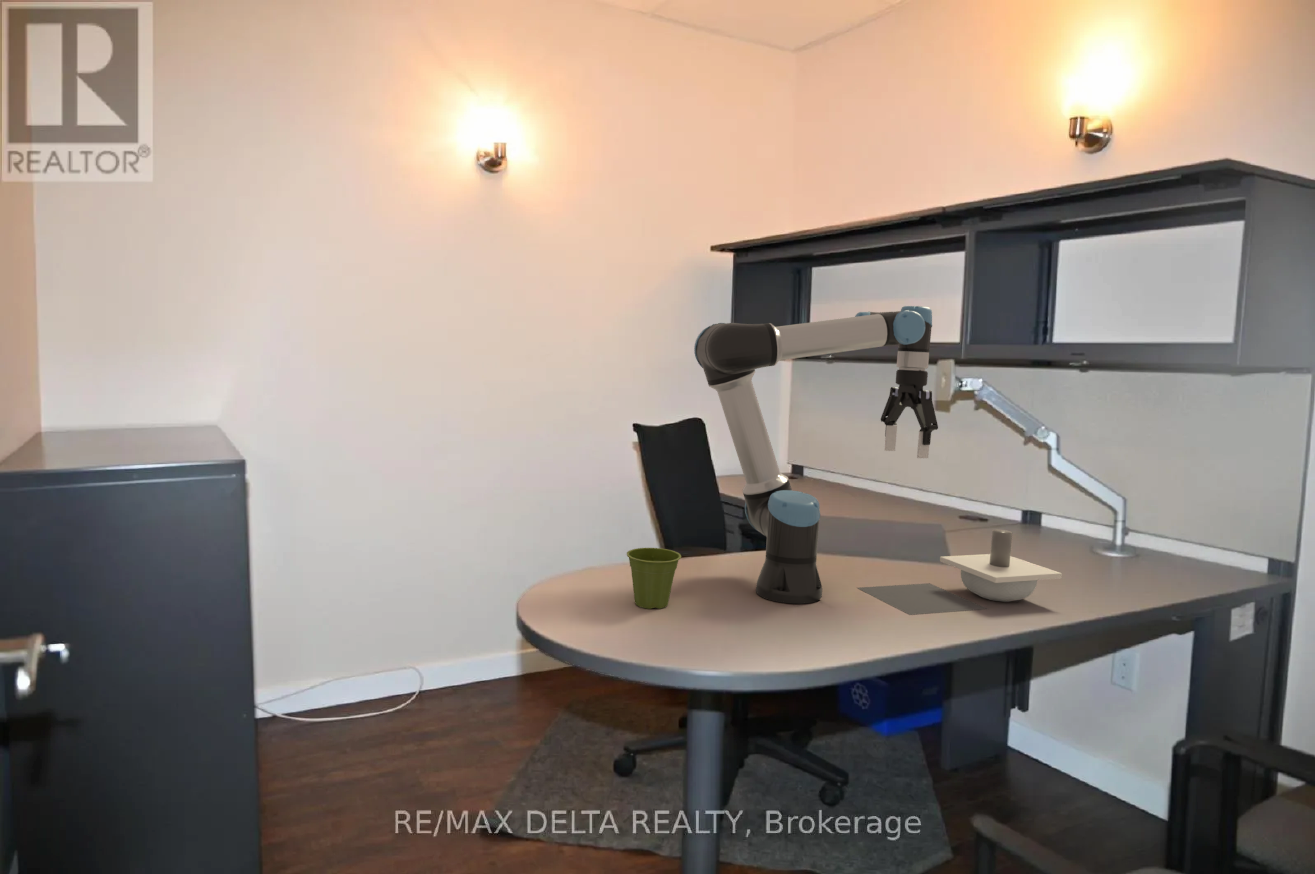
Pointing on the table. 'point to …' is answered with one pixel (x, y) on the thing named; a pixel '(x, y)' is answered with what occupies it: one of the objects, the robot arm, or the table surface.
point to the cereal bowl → (998, 588)
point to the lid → (1000, 563)
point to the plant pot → (652, 575)
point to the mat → (921, 599)
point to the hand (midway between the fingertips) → (905, 454)
